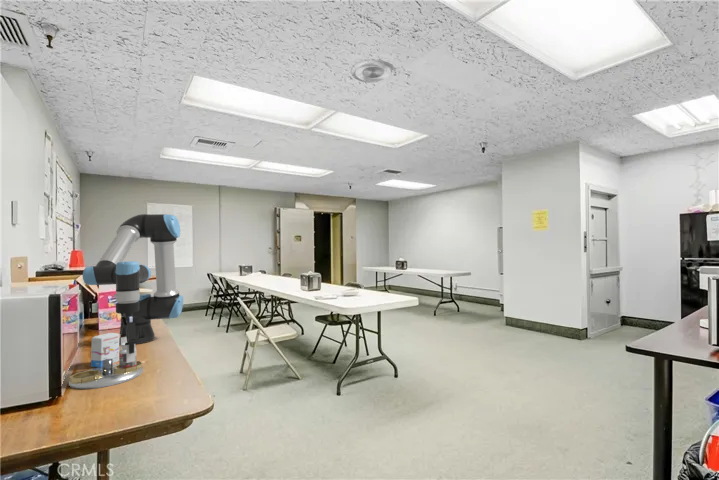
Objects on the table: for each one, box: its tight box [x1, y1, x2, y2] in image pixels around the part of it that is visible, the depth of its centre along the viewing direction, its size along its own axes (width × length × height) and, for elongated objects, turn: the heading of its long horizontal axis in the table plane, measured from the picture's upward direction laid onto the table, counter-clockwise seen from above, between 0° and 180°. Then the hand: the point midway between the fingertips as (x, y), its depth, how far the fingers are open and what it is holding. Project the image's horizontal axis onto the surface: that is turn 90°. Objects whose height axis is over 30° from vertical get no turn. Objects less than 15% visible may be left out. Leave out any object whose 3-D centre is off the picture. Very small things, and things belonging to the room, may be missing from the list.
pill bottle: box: [118, 342, 137, 368], centre depth 132 cm, size 5×5×10 cm
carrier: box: [68, 359, 144, 390], centre depth 128 cm, size 22×22×6 cm
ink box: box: [90, 332, 120, 368], centre depth 142 cm, size 9×5×12 cm, turn 168°
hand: (127, 357), depth 132 cm, fingers open, 13 cm apart
